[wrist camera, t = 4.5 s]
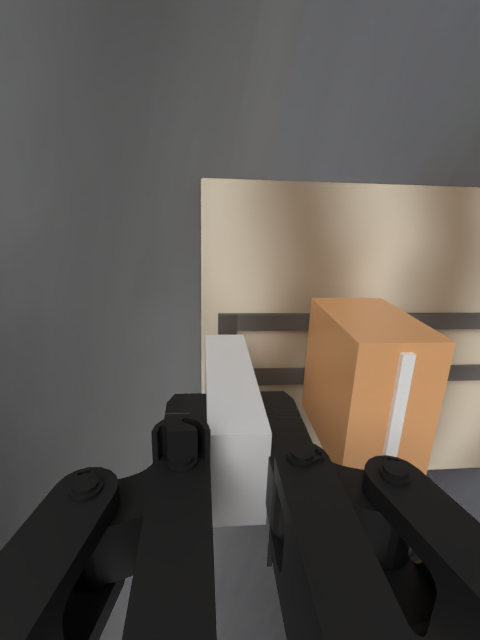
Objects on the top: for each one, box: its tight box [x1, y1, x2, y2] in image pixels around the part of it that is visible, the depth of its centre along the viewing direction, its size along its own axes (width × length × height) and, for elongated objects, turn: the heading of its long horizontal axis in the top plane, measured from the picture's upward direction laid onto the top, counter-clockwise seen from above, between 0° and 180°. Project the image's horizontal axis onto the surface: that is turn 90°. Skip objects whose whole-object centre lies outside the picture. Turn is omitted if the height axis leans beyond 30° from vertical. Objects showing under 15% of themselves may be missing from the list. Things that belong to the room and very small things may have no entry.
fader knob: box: [302, 298, 456, 475], centre depth 14 cm, size 3×5×5 cm, turn 178°
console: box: [201, 178, 480, 470], centre depth 18 cm, size 20×14×4 cm
